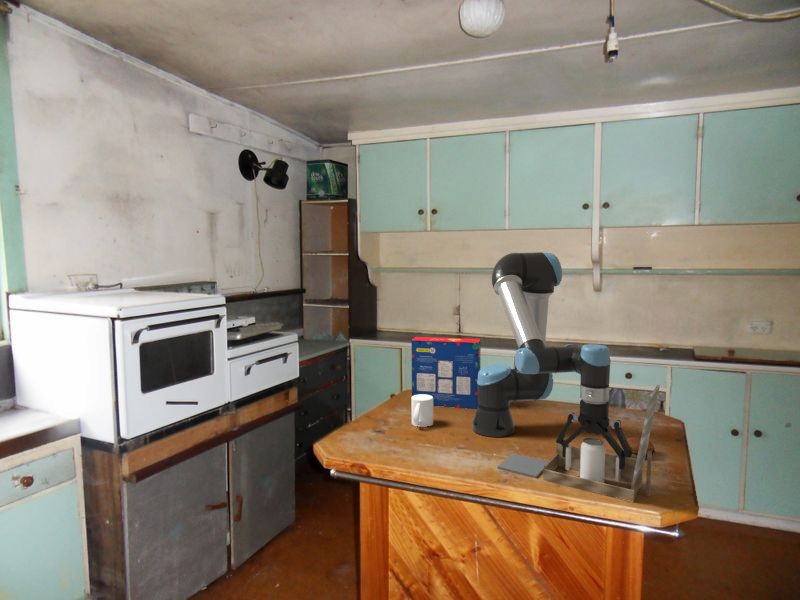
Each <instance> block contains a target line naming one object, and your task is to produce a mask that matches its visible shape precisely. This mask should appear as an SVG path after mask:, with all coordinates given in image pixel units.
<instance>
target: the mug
mask: <svg viewBox="0 0 800 600" xmlns="http://www.w3.org/2000/svg"><path fill="white" fill-rule="evenodd" d="M410 411H411V426H414V427H417V426H418V427H419V428H427V426H429V427H431V426H433V425H434V406H433V396H431V395H427V394H418V395H414V396H412V395H411V409H410Z"/></svg>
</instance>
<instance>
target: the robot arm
mask: <svg viewBox="0 0 800 600" xmlns="http://www.w3.org/2000/svg"><path fill="white" fill-rule="evenodd" d="M562 279H563V270H562V264H561V262H560V260H559V258H558V257H557V256H556V255H555V254H554V253H553V252H552V253H551V252H544V251H543V252H511V253H508V254H506V255H504V256H503V257H501V258H500V259H499V260H498V261H497V262H496V264H495V265H494V267H493V270H492V274H491V286H492V288H493V291H494V293H495V294H496V295H498V296H499V298H500V301H501V303H502V307H503V309H504V312H505V314H506V317H507V320H508V323H509V325H510V329H511V330H512V334H513V337H514V338H515V341H516V345H517V347H518V349H517V350H516V351H515V355H514V362H515V363H514V368H511V367H510V366H509V365H507V364H491V365H487V366H484V367H481V368H480V371H479V372H478V380H477V384H478V408H477V409H476V411H475V416H474V418H473V421H472V431H473V432H474V433H476V434H478V435H480V436H484V437H492V438H502V437H508V436H511V435H513V434H515V432H516V431H515V422H514V418H513V415H512V412H511V402H525V401H527V402H528V401H541V400H545V399H547V398H548V397H549V396H550V395H551V393H552V391H553V389H554V388H553V387H554V378H553V375H554V374H558V373H577V374H579V375H580V383H579V384H580V387H579V388H580V389H579V391H580V392H579V393H580V395H579V397H580V401H579V415H578V414H575V412H570V413H569V414H568V415H567V421H566V423H565V424H564V426H563V428H562V430H561V432H560V433H559V435H558V437H557V439H556V440H555V442H556V443H555V444H557V443H558V444H561V445H562V447H563V450H562V455H563V457H566V468H565V469H564V470H566V471H569V470H571V469H570V467H571V446H572V445H571V444H570V443H572V442H573V441H574V440H575V439H576V438H577V437H578V436H579V435H581V433H583V431H585V432H586V433H587V434H594V435H601V437H603V439H605V440H606V441H607V443H608V445H609V446H610V447H611V449H613V452H615V455H618V456H617V457H616V476H615V479H614V480H615V482H619V481H621V480H620V476H621V469H622V470H623V469H624V467H625V458H631V456H632V454H633V452H632V450H631V448H630V446H629V444H628V442H627V439H628V438H626V435H625V433H624V431H623V429H622V424H621V420H619V419H617V420H611V419H609V411H610V405H609V402H608V401H609V400H610V377H611V374H610V372H611V354H610V353H611V349H610V347H608V346H607V345H603V344H595V343H587V344H584V345H582V346H581V345H578V344H573V343H567V344H565V345H563V346H549V347H547V346H546V340H547V339H546V338H547V337H546V336H547V326H548V313H549V299H550V296H552V295H553V293H554V292H555V287H557V286H559V285H560V284H561V282H562ZM576 421H578V423H579V424H580V426H579V427H578V429H576V430H575V431H573V433H572V434H571V435H570V436H569V437H567V438H566V435H567V433H568V432H569V430H570V428H571V426H572V425H573V424H574V423H575V422H576ZM609 426H611V429H612V430H614V433H615V435H616V437H617V439H618V442H619V443H618V442H617V440H616V439H615V438H614V436H613V435H612V433H611V432H610V429H608V428H609ZM564 438H566V439H564ZM621 446H622V448H623V449H622V448H621ZM623 450H624V451H623Z"/></svg>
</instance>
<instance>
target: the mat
mask: <svg viewBox="0 0 800 600" xmlns="http://www.w3.org/2000/svg"><path fill="white" fill-rule="evenodd" d="M548 461H549V460H544V459H543V460H542V459H538V458H534V457H531V456H530V457H529V456H527V455H526V456H525V455H522V454H521V455H520V454H517V453H512V454H510V455H509V456H508V457H507V458H506V459H505V460H504V461H502V462H501V463H500V464H499V465H498V466H497V469H498V470H503V471H506V472H511V473H514V474H518V475H523V476H525V477H530V476H531V477H530V478H533V479H537V478H538V477H539V476H541V474H543V470H544V465H545V464H546V463H547V462H548Z"/></svg>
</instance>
